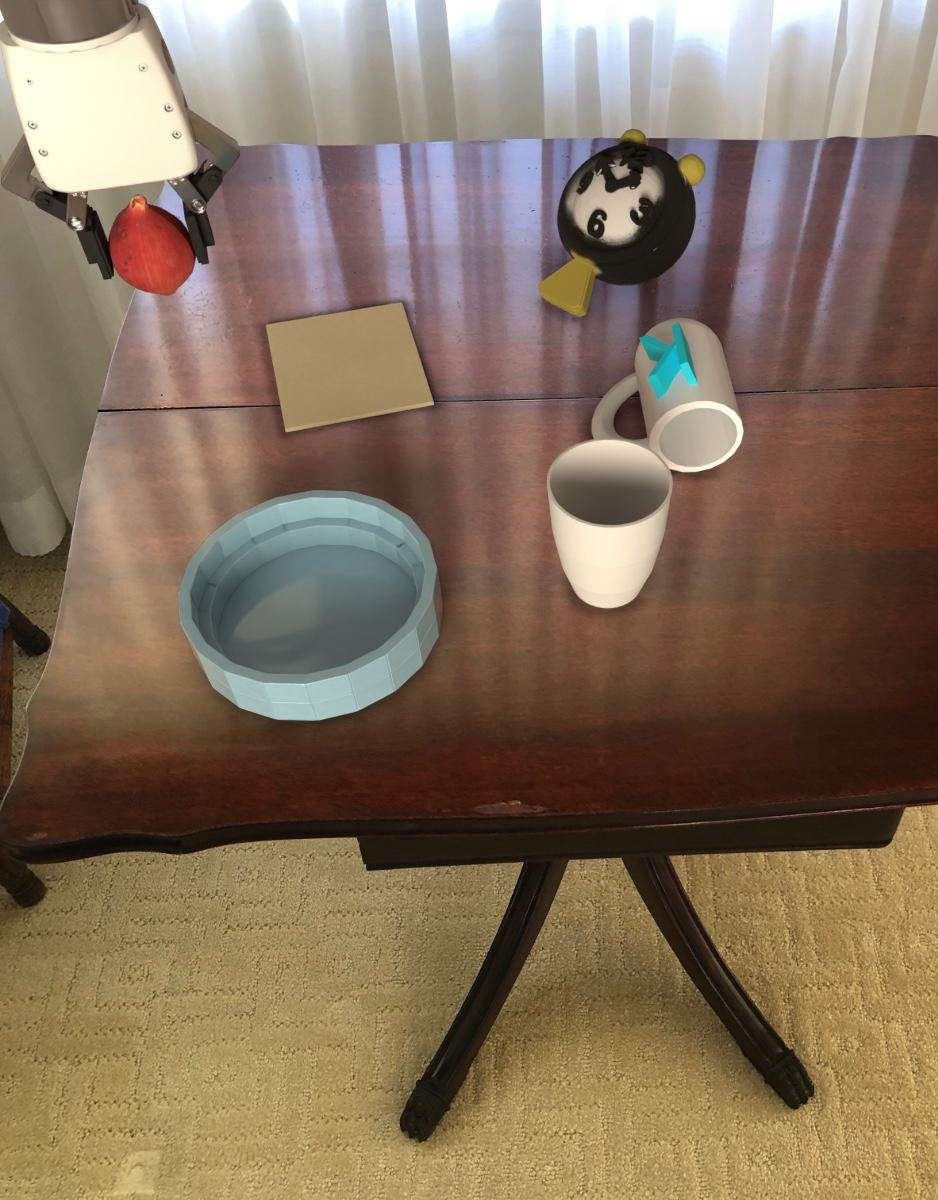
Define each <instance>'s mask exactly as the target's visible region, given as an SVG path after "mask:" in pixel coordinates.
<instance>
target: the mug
mask: <svg viewBox="0 0 938 1200" xmlns="http://www.w3.org/2000/svg"><path fill="white" fill-rule="evenodd" d="M638 339H639V340H640V341H639V343H638V346H637V349H636V352H635V355H634V372H633V373H631V374H629V375H628V376H625V377H624V378H623V379H621V380H620V381H618V382H617V383H616V384H614V385H613V386H612V387H611V388H610V389H609V390H608V391H607V392H606V393H605V394H604V395H603V396H602V398H601V400H600V401H599V402H598V404H597V406H596V407H595V410H594V412H593V416H592V418H591V435H592V437H593V439H600V438H618V439H625V440H629V441H633V442H636V443H639V444H641V445H644V446H646V447H648V448H649V449H651V450H653V451H654V452H655V453H657V454H658V455H659V456H660V457H661V458H662V459H663V460H664V461H665V463H666V464H667V466H668V467H669V469H670V470H672V471H675V472H676V471H677V472H681V473H697V472H701V471H706V470H710V469H712V468H715V467H717V466H719V465H721V464H723V463H725V462H726V461H727V460H728V459H729V458H731V457H732V456H733V455H734V454H735V453H736V451H737V449H738V448H739V447H740V445H741V444H742V440H743V436H744V427H743V423H742V422H743V421H742V418H741V414H740V410H739V407H738V402H737V398H736V395H735V392H734V387H733V383H732V379H731V375H730V371H729V368H728V364H727V361H726V357H725V353H724V350H723V346H722V343H721V341H720V338H719V337H718V335H717V334H716V333H715V332H714V331H713V330H712V329H711V328H710V327H709V326H707V325H706V324H704V323H702V322H700V321H698V320H695V319H692V318H686V317H676V318H670V319H667V320H664V321H661V322H660V323H657V324H656V325H654V326H653V327H651V328H650V329H649V330H648V331H647V332H646V333H645V335H643V336H640V337H639V338H638ZM637 392H638V393H639V399H640V403H641V409H642V415H643V419H644V426H645V431H646V437H645V438H637V439H630V438H625V437H623V436H620V435H619V433H617V431H616V429H615V426H614V419H615V416H616V414H617V412H618V410H619V408H620V407H621V405H623V403H624V402H625V401H626V400H627V399H628V398H629V397H631V396H633V395H634V394H635V393H637Z"/></svg>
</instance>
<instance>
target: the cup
mask: <svg viewBox="0 0 938 1200" xmlns="http://www.w3.org/2000/svg"><path fill="white" fill-rule="evenodd" d="M625 439H626V438H625ZM625 439H618V438H600V439H594V438H593V439H589V440H588V439H587V440H585V441H584V440H583V441H582V442H579V443H576V444H574V445H572V446H570V447H568V448H567V449H565V450H564V451H563V452H562V453H560V454H559V455H558V456H557V457H556V458H555V459H554V461H553V462H552V463H551V465H550V467H549V469H548V472H547V476H546V490H547V499H548V506H549V514H550V523H551V530H552V535H553V538H554V542H555V546H556V548H557V553H558V557H559V560H560V565H561V568H562V570H563V572H564V574H565V576H566V577H567V580H568V582H569V583H570V586H571V587H572V589H573V591H574V593H575V595H576V596H577V597H578V598H579V599H580V600H582V601H583V602H584V603H586V604H588V605H589V606H593V607H595V608H602V609H614V608H619V607H622V606H626V605H627V604H630V603H631V602H632V601H634V599H635V598H636V597H637V596H638V595H639V593H640V592H641V590H642V588H643V587H644V586H645V583H646V582H647V580H648V579H649V577H650V575H651V574H652V571H653V569H654V567H655V564H656V560H657V557H658V554H659V553H660V549H661V545H662V543H663V539H664V537H665V533H666V527H667V522H668V516H669V511H670V504H671V498H672V495H673V494H672V493H673V488H674V487H673V486H674V481H673V475H672V472H671V469H669V467H668V466H667V464H666V463H665V461H664V460H663V459H662V458H661V457H660V456H659V455H658V454H657V453H655V452H654V451H653V450H651V449H649V448H648V447H646V446H644V445H641V444H639V443H636V442H633V441H629V440H625Z"/></svg>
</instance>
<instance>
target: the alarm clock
mask: <svg viewBox="0 0 938 1200" xmlns="http://www.w3.org/2000/svg"><path fill="white" fill-rule="evenodd" d="M706 170H707V167H706V164H705V161H704V160H703V159H702V158H701V157H700V156H698V155H697V154H694V153H688V154H684V155H683V156H682V157H680V158H679V160H678V159H675V157H674V156H673V155H672V154H670V153H668V152H667V151H666V150H663V149H661V148H659V147H656V146H652V145H649V144H648V138H647V136H646V135H645V134H644V132H643V131H642V130H640V129H638V128H629V129H627V130H625V131H624V132H623V134H621V137H620V138H619V140H618V144H615V145H613V146H609V147H606V148H604V149H602V150H600V151H597V152H596V153H595V154H594V155H592V156H590V157H589V158H588V159H585V161H584V162H583V163H582V164H580V166H579V167H577V169H576V170H575V171H574V172H573V173H572V174H571V176H570V177H569V179H568V181H567V183H566V184H565V186H564V188H563V190H562V193H561V196H560V198H559V201H558V202H559V203H558V207H557V215H556V219H557V220H556V225H557V226H556V227H557V231H558V236H559V240H560V242H561V244H562V246H563V248H564V250H566V252H567V254H568V255H569V256H570V258H571V260H570V261H568V262H567V263H566V264H564V265H563V266H561V267H560V268H559V269H557V270H556V271H555V272H553V273H552V274H551V275H549V276H548V277H546V278H545V279H544V280H542V281H541V282H540V283H539V284H538V285H537V290H538V292H539V294H540V296H541V297H542V299H544V300H545V301H546V302H548V303H549V304H551V305H553V306H555V307H557V308H559V309H561V310H563V311H565V312H567V313H569V314H571V315H573V316H576V317H584V316H586V315H587V314H588V310H589V307H590V302H591V297H592V294H593V290H594V289H593V288H594V285H595V280H596V279H597V280H599V281H600V282H601V281H602V282H603V283H606V284H610V285H616V286H636V285H641V284H644V283H647V282H650V281H652V280H654V279H657V278H658V277H660V276H662V275H664V274H665V273H666V272H668V271H669V270H670V269H671V268H672V267H673V266H674V265H675V264H676V263H677V262H678V261H679V260H680V259H681V258H682V256H683V254H684V253H685V252H686V249H687V248H688V246H689V244H690V242H691V240H692V236H693V233H694V230H695V225H696V218H697V205H696V204H697V203H696V197H695V196H696V195H695V192H694V188H693V187H695V186H697V185H698V184H700V183H701V182H702V180H703V179H704V178H705V175H706Z"/></svg>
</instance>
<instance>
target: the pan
mask: <svg viewBox="0 0 938 1200" xmlns="http://www.w3.org/2000/svg"><path fill="white" fill-rule="evenodd" d="M441 590H442V589H441V584H440V578H439V570H438V566H437V562H436V558H435V555H434V552H433V548H432V544H431V541H430V539H429V538H428V536H426V534H425V533H424V532H423V530H422V529H421V528H420V527H419V526H418V524H417V523H416V521H415V520H414V519H413V518H412V517H411V516H410V515H408V514H407V513H405V512H403V511H402V510H400V509H398V508H397V507H395V506H394V505H392V504H391V503H388V502H387V501H385V500H383V499H381V498H377V497H375V496H370V495H367V494H362V493H359V492H356V491H351V490H330V489H329V490H327V489H326V490H324V489H321V490H320V489H312V490H306V491H301V492H296V493H290V494H286V495H281V496H276V497H272V498H270V499H268V500H265V501H263V502H261V503H258V504H255V505H254V506H252V507H251V506H250V507H249V508H247V509H244V510H242V511H240V512H238V513H237V514H235V515H234V516H233V517H231V518H230V519H229V520H227V521H226V522H225V523H223V524H222V525H220V526H219V527H218V528H217V529H215V530H214V531H212V532H211V533H210V534H209V535H208V536H206V539H204V540H203V542H202V544H200V546H199V547H198V549H197V550H196V551H195V552H194V554H193V555H192V557H191V558H190V559H189V560H188V562H187V564H186V568H185V570H184V573H183V576H182V579H181V582H180V584H179V588H178V591H177V601H178V613H179V614H178V615H179V624H180V626H181V629H182V631H183V633H184V635H185V638H186V639H187V641H188V645H189V647H190V649H191V650H192V653H193V655H194V657H195V659H196V661H197V663H198V665H199V666H200V668H201V671H202V672H203V673H204V675H205V677H206V679H207V681H208V682H209V684H210V686H211V687H212V689H214V690H215V691H217V693H219V694H220V695H222V696H223V697H224V698H225V699H227V700H228V701H230V702H231V703H233V704H234V705H235V706H236V707H237V708H239V709H243V710H245V711H248V712H251V713H254V714H257V715H260V716H263V717H267V718H269V719H273V720H276V721H277V720H278V721H312V722H313V721H314V722H315V721H322V720H326V719H332V718H334V717H339V716H343V715H347V714H351V713H356V712H359V711H361V710H363V709H365V708H367V707H369V706H370V705H372V704H374V703H377V702H378V701H380V700H382V699H384V698H386V697H388V696H389V695H392V694H393V693H394V692H396V691H398V689H400V688H401V687H402V686H403V685H404V684H405V683H406V682H407V681H408V680H409V679H410V678H411V677H413V676H414V674H416V673H417V672H418V671H419V670H420V669H421V668H422V667H423V666H424V664H425V662H426V660H427V659H428V656H429V655H430V653H431V651H432V649H433V648H434V646H435V644H436V642H437V640H438V638H439V637H440V631H441V624H442V618H443V617H442V616H443V609H444V604H443V597H442V596H443V595H442V591H441Z"/></svg>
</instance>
